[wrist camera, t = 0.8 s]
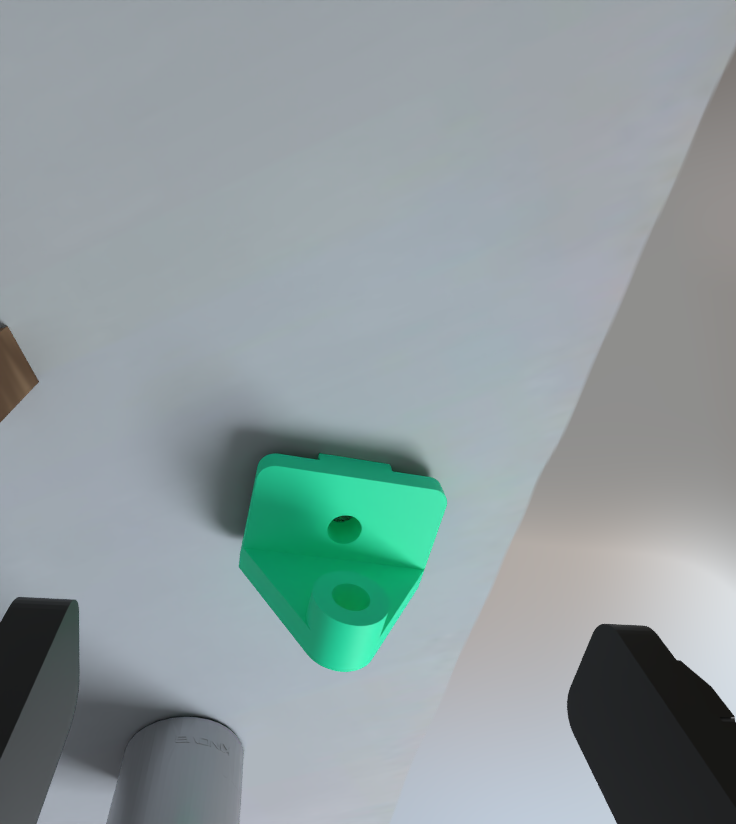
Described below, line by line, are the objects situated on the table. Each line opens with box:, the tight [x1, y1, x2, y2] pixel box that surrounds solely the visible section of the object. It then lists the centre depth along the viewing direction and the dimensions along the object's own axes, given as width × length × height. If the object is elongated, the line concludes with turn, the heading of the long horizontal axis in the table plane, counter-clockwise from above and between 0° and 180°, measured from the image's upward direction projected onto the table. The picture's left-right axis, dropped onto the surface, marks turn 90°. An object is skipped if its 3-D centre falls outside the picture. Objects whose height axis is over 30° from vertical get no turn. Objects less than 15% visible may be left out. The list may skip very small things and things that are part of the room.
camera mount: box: [239, 453, 447, 672], centre depth 36 cm, size 12×8×10 cm, turn 76°
